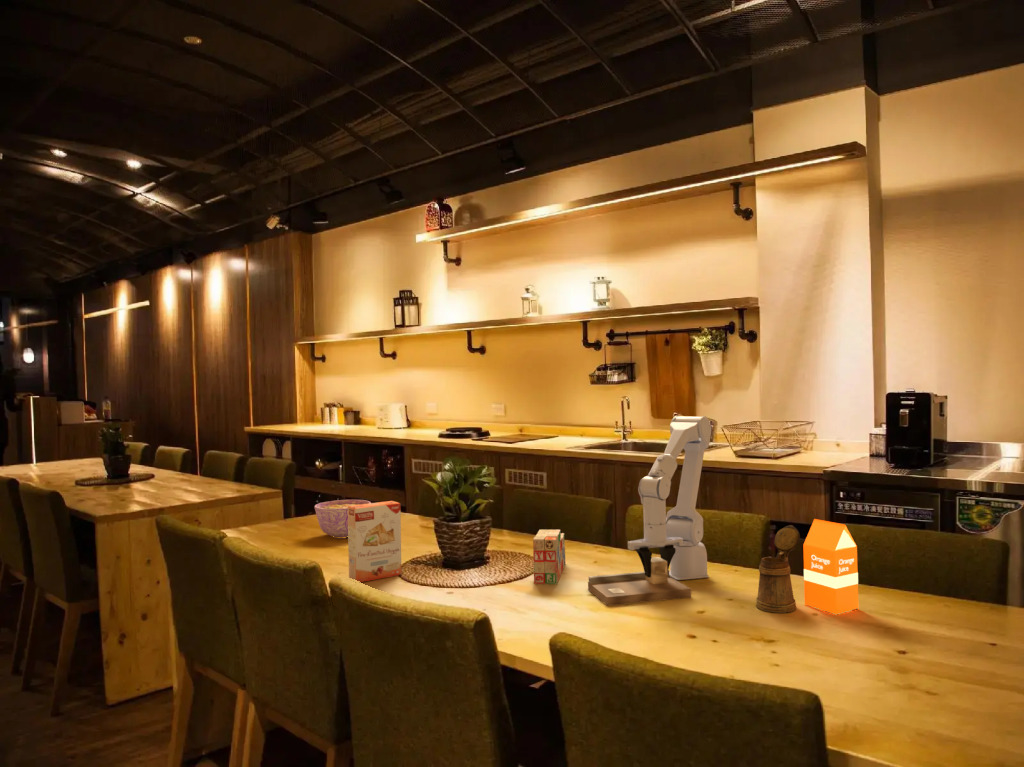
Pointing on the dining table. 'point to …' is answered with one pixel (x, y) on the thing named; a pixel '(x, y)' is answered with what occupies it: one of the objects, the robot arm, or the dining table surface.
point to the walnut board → (634, 589)
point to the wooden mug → (778, 575)
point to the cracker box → (374, 540)
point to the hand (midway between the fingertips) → (656, 575)
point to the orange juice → (830, 568)
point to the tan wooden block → (658, 571)
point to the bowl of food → (335, 516)
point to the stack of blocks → (548, 556)
